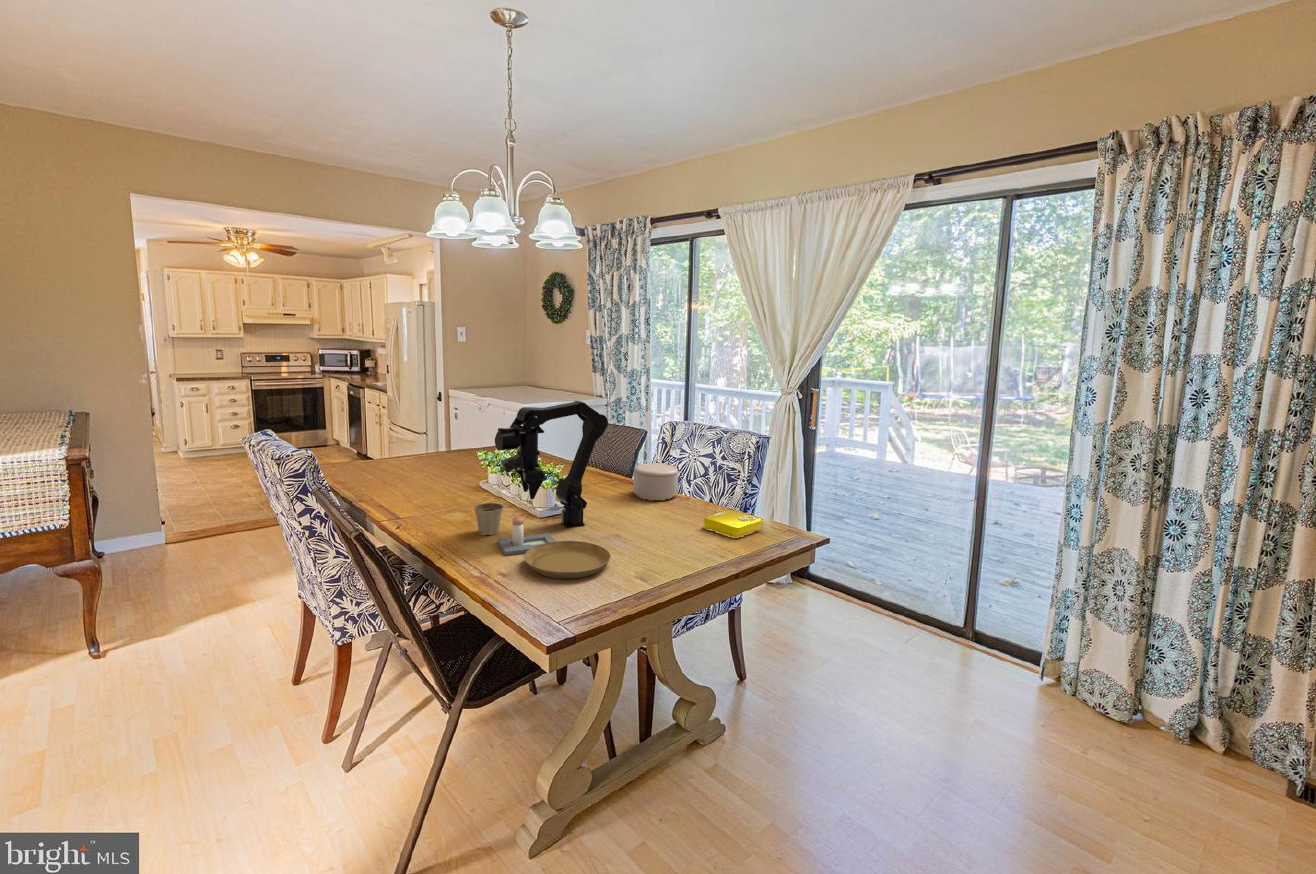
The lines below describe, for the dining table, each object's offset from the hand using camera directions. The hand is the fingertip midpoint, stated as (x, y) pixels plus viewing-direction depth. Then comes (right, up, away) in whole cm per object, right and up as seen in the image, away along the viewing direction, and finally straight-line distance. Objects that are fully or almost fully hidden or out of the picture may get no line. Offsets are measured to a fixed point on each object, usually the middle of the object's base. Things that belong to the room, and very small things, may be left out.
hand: (528, 495), depth 199 cm
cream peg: (-1, -14, -11) cm, 18 cm away
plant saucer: (+16, -18, -24) cm, 34 cm away
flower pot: (-13, -12, +1) cm, 18 cm away
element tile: (+67, -13, +13) cm, 69 cm away
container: (+40, -5, +52) cm, 66 cm away
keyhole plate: (+2, -15, -10) cm, 18 cm away
